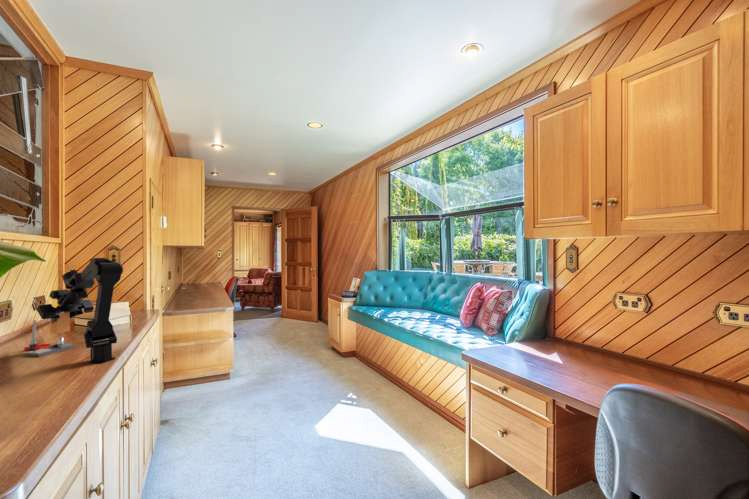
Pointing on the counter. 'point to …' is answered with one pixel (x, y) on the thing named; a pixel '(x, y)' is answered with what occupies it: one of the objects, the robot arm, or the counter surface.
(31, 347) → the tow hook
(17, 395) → the counter surface
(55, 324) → the orange sleeve
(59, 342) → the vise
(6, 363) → the counter surface
